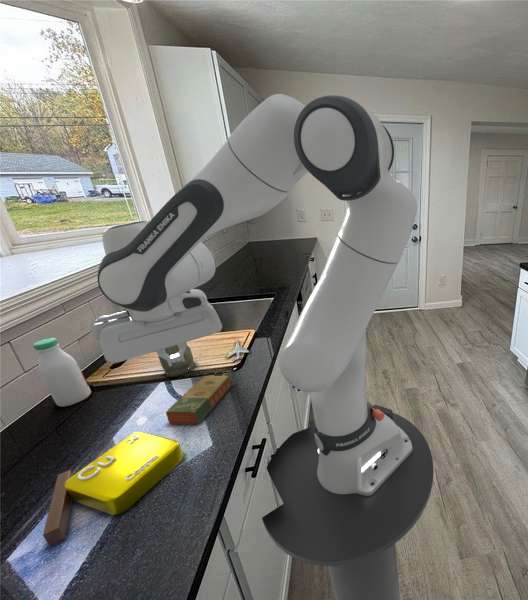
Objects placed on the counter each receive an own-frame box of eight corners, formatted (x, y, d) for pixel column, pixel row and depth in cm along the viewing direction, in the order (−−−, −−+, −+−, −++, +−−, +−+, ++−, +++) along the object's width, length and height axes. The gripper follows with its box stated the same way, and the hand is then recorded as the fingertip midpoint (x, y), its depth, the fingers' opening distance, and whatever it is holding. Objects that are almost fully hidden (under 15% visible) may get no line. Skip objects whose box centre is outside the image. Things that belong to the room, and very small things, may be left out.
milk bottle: (92, 397, 95) (63, 340, 88) (56, 411, 90) (22, 351, 83) (91, 387, 101) (63, 332, 93) (57, 399, 96) (25, 342, 88)
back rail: (76, 479, 69) (70, 469, 67) (65, 538, 57) (58, 527, 56) (64, 484, 67) (57, 474, 66) (50, 546, 56) (42, 535, 55)
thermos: (167, 364, 111) (131, 270, 98) (203, 359, 113) (173, 266, 100) (154, 379, 103) (113, 278, 90) (193, 373, 105) (159, 274, 92)
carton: (232, 386, 97) (229, 374, 96) (199, 424, 82) (194, 411, 81) (206, 386, 98) (203, 375, 96) (169, 424, 83) (164, 411, 81)
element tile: (119, 518, 60) (109, 501, 58) (67, 499, 64) (57, 483, 62) (188, 455, 73) (182, 439, 71) (142, 443, 77) (135, 428, 76)
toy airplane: (247, 338, 127) (246, 333, 126) (250, 363, 109) (249, 357, 108) (226, 344, 124) (225, 338, 123) (226, 370, 106) (224, 364, 105)
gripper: (84, 325, 55) (114, 390, 60) (214, 295, 66) (230, 351, 72) (87, 315, 59) (115, 376, 64) (208, 288, 71) (224, 341, 76)
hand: (177, 362), depth 68 cm, fingers closed
